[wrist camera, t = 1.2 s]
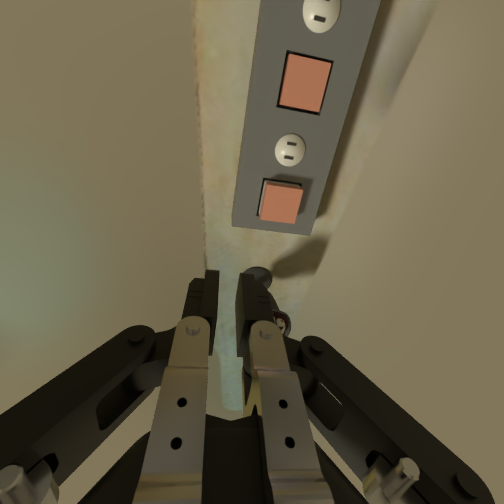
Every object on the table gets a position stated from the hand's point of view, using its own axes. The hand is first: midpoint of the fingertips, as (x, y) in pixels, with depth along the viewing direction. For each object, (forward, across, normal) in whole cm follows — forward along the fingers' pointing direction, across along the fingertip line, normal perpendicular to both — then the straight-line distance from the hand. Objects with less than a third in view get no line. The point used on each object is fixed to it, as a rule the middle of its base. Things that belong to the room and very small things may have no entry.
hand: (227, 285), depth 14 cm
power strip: (+21, -6, -8) cm, 23 cm away
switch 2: (+20, -6, -12) cm, 24 cm away
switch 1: (+18, -6, 0) cm, 19 cm away
